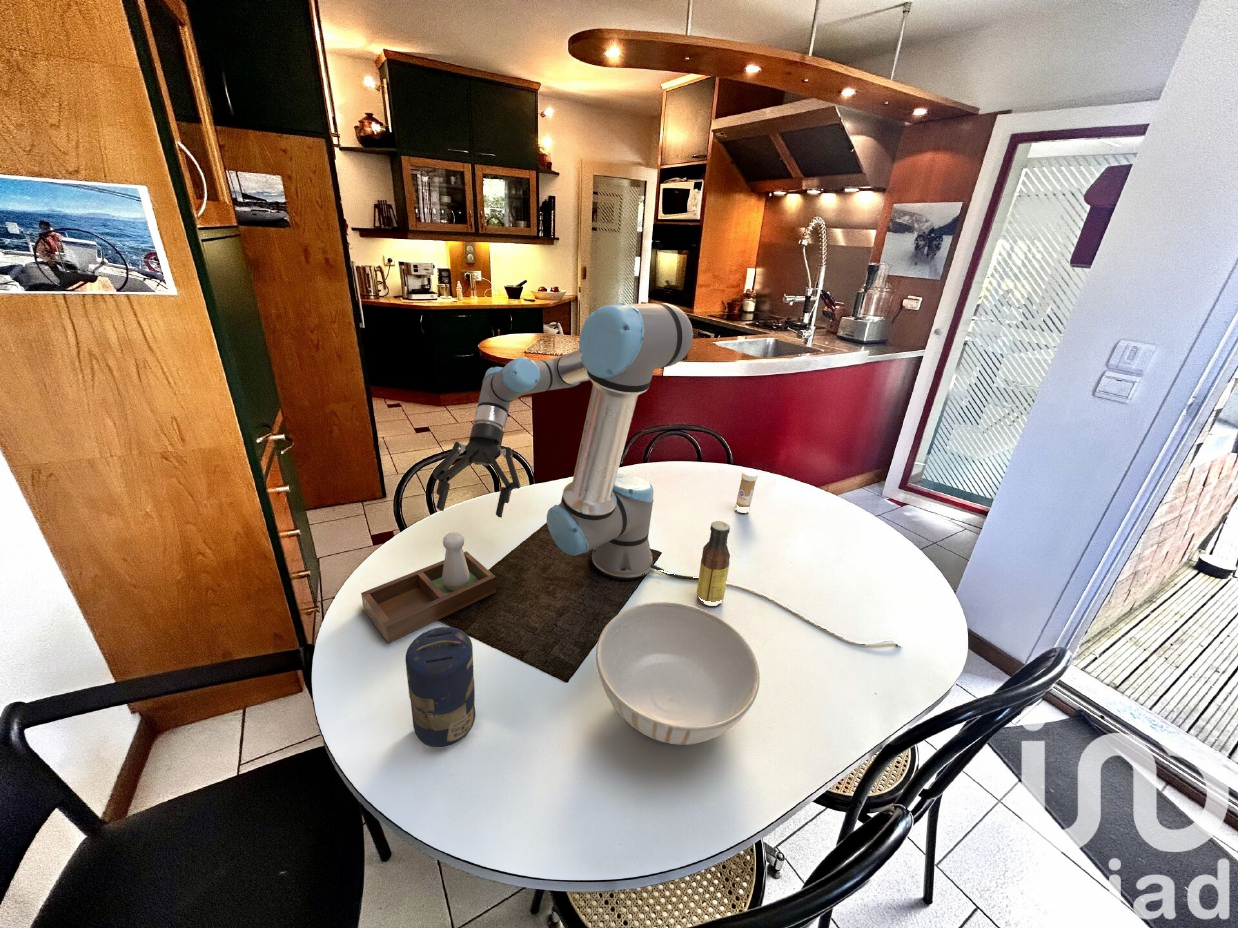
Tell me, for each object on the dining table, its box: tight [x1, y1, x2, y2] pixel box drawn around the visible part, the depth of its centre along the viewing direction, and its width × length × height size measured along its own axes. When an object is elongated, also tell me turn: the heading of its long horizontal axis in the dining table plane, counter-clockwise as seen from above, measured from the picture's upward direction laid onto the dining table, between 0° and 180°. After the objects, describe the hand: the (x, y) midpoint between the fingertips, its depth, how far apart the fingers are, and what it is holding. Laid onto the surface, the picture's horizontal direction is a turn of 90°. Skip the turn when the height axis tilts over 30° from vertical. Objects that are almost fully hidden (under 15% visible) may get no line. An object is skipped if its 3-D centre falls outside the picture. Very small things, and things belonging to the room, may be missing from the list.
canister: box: [405, 626, 477, 749], centre depth 76 cm, size 10×10×18 cm
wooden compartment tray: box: [360, 550, 497, 644], centre depth 104 cm, size 12×24×4 cm, turn 135°
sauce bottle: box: [696, 520, 731, 604], centre depth 109 cm, size 7×6×20 cm
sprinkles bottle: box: [735, 469, 758, 508], centre depth 150 cm, size 5×5×14 cm
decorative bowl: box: [595, 601, 761, 746], centre depth 83 cm, size 27×27×12 cm
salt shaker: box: [442, 532, 470, 591], centre depth 106 cm, size 6×6×13 cm
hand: (469, 512), depth 111 cm, fingers open, 13 cm apart
